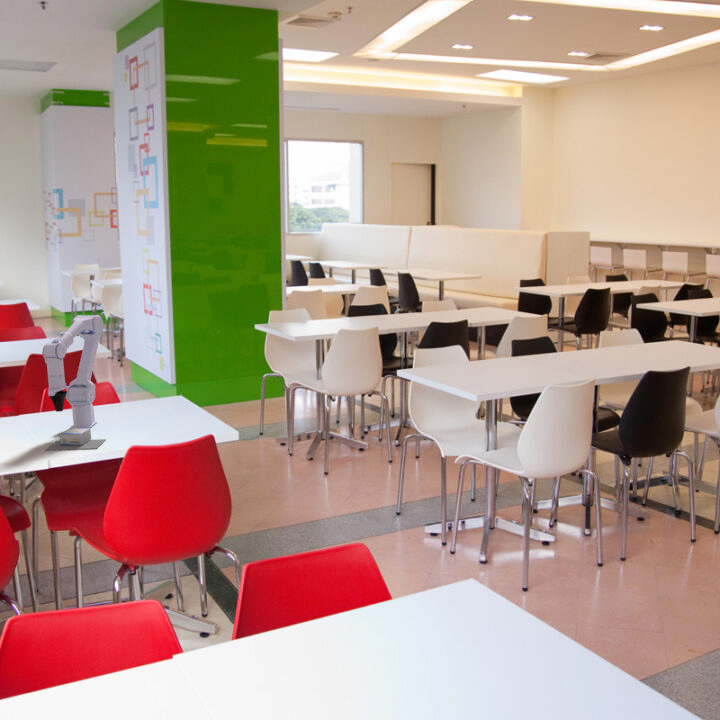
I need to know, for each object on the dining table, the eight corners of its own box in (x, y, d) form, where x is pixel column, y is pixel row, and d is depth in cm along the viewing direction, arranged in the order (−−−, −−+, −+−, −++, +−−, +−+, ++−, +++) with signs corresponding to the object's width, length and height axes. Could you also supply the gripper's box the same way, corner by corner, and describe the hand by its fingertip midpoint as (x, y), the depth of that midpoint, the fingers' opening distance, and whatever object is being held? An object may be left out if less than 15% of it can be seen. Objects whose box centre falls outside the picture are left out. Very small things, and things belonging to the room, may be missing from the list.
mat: (56, 441, 302) (56, 441, 302) (106, 440, 303) (105, 439, 303) (44, 450, 290) (44, 449, 290) (96, 448, 291) (96, 448, 291)
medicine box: (90, 427, 302) (80, 433, 294) (91, 439, 303) (81, 445, 295) (69, 427, 303) (59, 433, 295) (70, 439, 304) (60, 445, 295)
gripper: (60, 378, 300) (64, 415, 303) (73, 371, 315) (76, 406, 317) (41, 379, 300) (44, 415, 302) (54, 372, 314) (57, 407, 317)
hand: (59, 411), depth 310 cm, fingers closed
